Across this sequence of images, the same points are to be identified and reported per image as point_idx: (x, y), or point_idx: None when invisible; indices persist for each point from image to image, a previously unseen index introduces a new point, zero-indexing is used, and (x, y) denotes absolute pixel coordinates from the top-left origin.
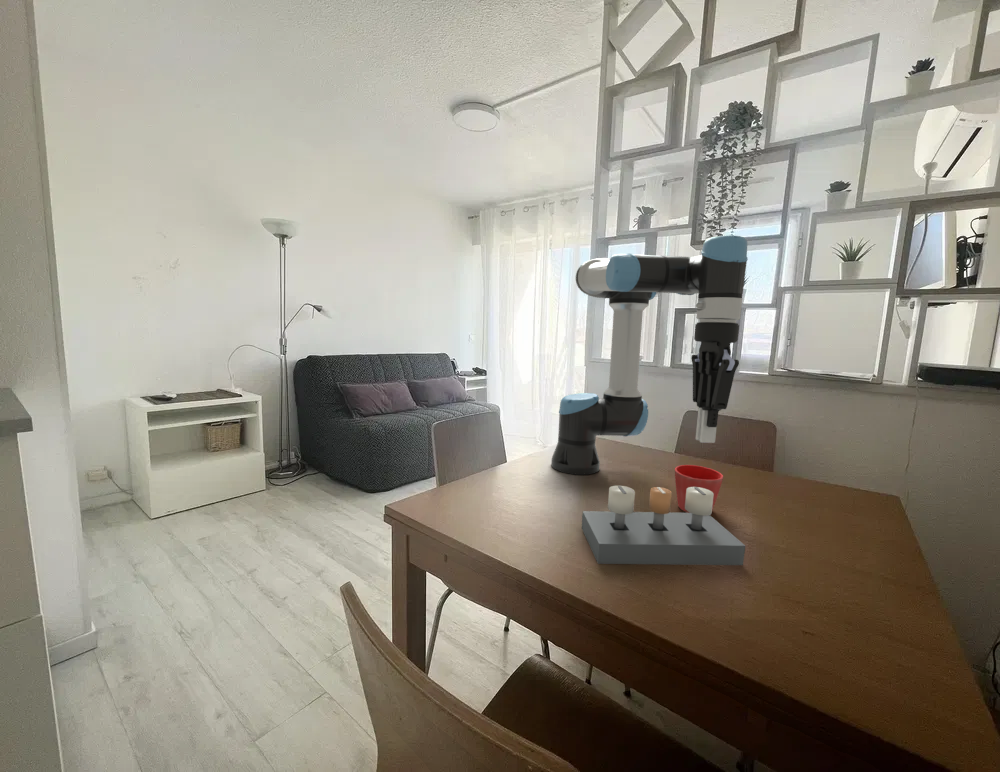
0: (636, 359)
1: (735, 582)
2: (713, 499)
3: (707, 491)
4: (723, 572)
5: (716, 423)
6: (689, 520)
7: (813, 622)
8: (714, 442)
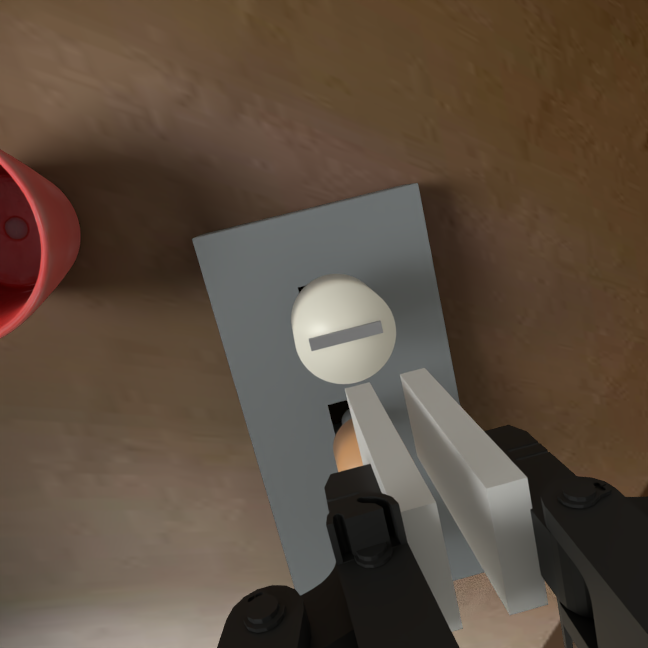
0: None
1: (489, 233)
2: (41, 178)
3: (335, 303)
4: (449, 250)
5: (532, 441)
6: (278, 316)
7: (615, 107)
8: (427, 371)
